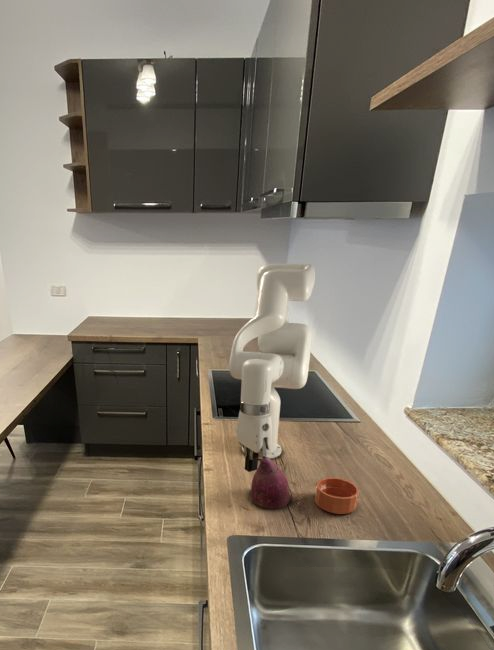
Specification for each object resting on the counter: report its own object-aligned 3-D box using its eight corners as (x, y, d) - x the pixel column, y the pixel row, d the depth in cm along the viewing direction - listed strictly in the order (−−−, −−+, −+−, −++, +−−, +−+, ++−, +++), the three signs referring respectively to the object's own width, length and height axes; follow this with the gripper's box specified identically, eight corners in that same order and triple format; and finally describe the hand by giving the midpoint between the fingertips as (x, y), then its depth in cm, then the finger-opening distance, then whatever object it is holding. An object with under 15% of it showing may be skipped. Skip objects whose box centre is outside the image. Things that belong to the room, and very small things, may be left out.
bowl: (306, 500, 117) (308, 483, 115) (334, 489, 121) (336, 473, 119) (336, 520, 109) (338, 502, 107) (364, 508, 113) (367, 491, 111)
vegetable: (260, 521, 114) (253, 478, 106) (245, 495, 123) (237, 454, 114) (297, 507, 115) (293, 463, 107) (280, 482, 124) (274, 440, 115)
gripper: (285, 413, 111) (279, 478, 118) (249, 396, 123) (245, 456, 130) (261, 419, 107) (256, 485, 115) (226, 401, 119) (224, 462, 127)
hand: (251, 469), depth 122 cm, fingers closed
